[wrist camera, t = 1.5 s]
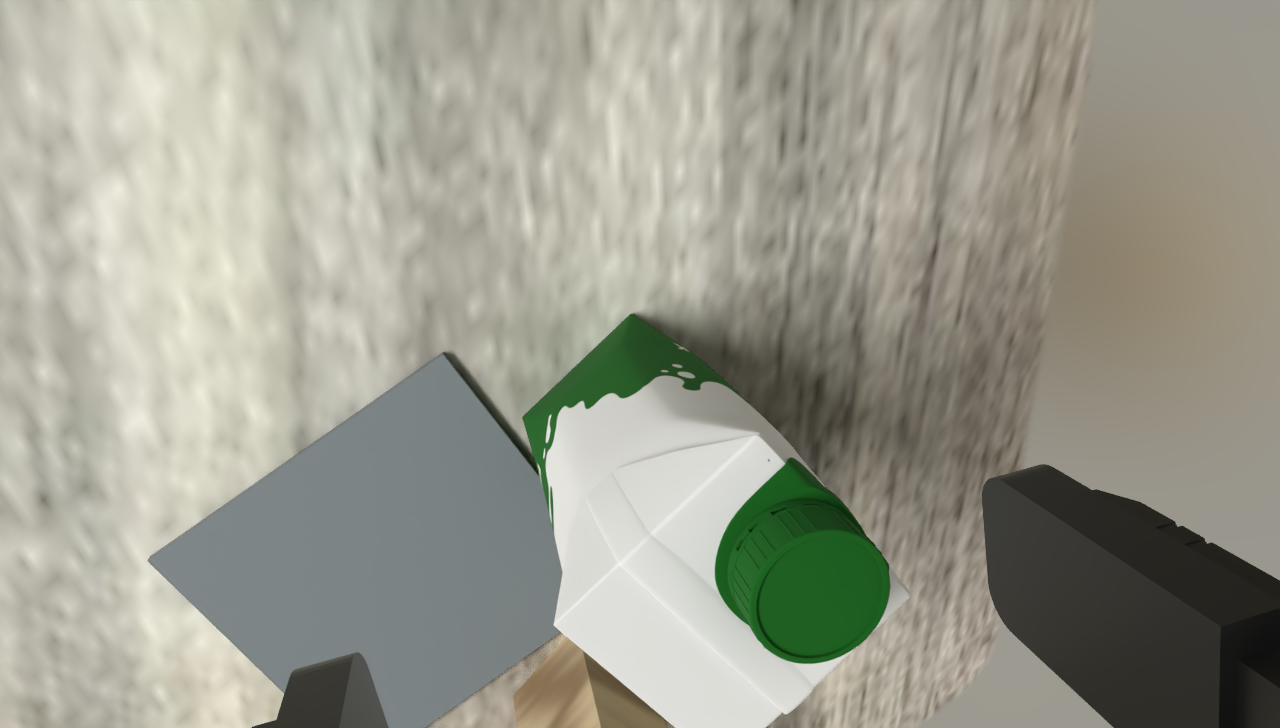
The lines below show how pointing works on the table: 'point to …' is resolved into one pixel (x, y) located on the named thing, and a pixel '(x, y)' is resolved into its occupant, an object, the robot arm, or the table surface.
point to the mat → (386, 552)
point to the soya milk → (697, 538)
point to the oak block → (579, 696)
